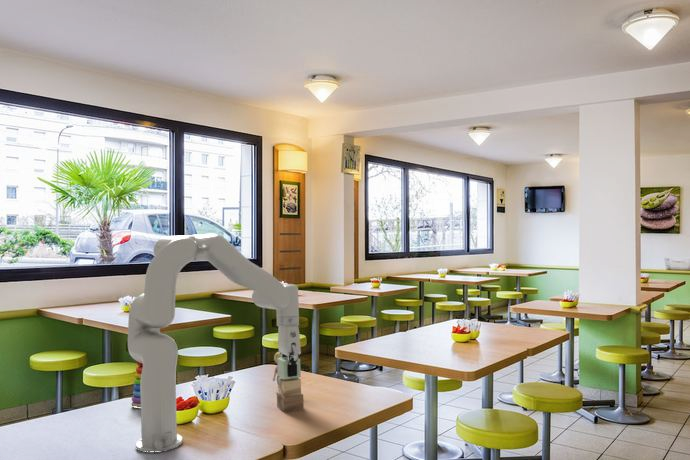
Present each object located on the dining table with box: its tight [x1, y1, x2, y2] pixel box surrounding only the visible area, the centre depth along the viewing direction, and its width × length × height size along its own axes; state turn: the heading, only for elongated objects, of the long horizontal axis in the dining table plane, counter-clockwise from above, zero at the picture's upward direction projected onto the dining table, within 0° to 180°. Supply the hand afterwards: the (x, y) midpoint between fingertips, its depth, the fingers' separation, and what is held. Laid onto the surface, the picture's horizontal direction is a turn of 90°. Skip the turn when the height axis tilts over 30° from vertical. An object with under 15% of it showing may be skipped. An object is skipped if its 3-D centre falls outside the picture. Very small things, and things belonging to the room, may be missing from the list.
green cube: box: [277, 357, 302, 379], centre depth 188 cm, size 6×6×6 cm
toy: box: [272, 351, 281, 392], centre depth 208 cm, size 7×5×15 cm
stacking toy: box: [130, 360, 143, 407], centre depth 194 cm, size 8×8×19 cm
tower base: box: [276, 391, 305, 413], centre depth 188 cm, size 7×7×5 cm
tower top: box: [278, 377, 302, 397], centre depth 188 cm, size 6×6×5 cm
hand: (288, 373), depth 188 cm, fingers closed on green cube, 6 cm apart
